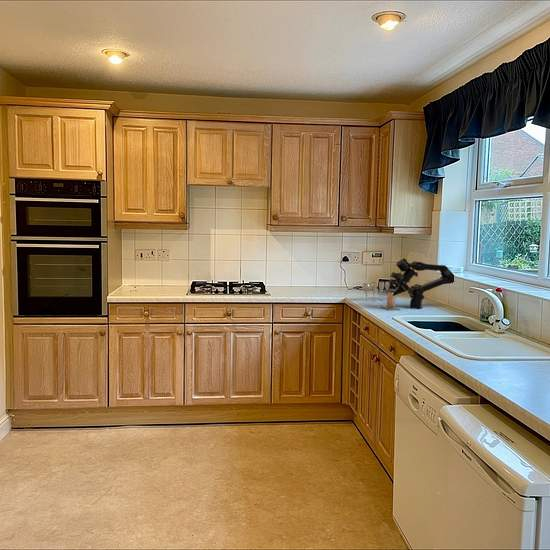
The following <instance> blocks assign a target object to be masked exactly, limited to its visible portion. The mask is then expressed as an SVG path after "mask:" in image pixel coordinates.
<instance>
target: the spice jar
mask: <svg viewBox="0 0 550 550" xmlns="http://www.w3.org/2000/svg"><path fill="white" fill-rule="evenodd" d="M386 292H387V293H386V294H387V295H386V300H387V301H386V306H387V308H394V307H395V301H394V300H395V296H393V293H394V292H395V289H393V288H388V289H387V290H386Z"/></svg>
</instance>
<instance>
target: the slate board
mask: <svg viewBox="0 0 550 550" xmlns="http://www.w3.org/2000/svg"><path fill="white" fill-rule="evenodd" d="M381 307H382V309H384V308H385V309H384V310H386V309H387V310H386V311H389V310H390V311H401V308H398V307H396V306H394V308H387V305H380V308H381Z"/></svg>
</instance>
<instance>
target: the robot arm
mask: <svg viewBox="0 0 550 550" xmlns="http://www.w3.org/2000/svg"><path fill="white" fill-rule="evenodd" d="M395 265H396V267H397V268H398V269H399V270H400V271H401V272H402V273H401V272H394V271H392V272H391V274H390V277H391V278H390V279H389V280H388V282H389V283H390V286H389V288H393V289H396V291H395V292H394V293H393V296H395V295H396V296H397V295H399V294H403V293H405V292H407V293H408V295H409V298H410V299H411V300H410V301H409V309H415V308H416V309H418V310H420V308H421V309H422V308H424V307H423V300H424V299H425V296H424V293H426V292H427V291H430V290H432V289H436V288H438V287H439V286H443V285H449V284H454V283H455V282H454V275H455V274H454V273H453V272H452V271H451V270H450V269H449V268H448V266H447V265H444V264H433V263H431V264H430V263H424V262H422V261H416V260H414V261H412V262H411V263H409V262H408V260H407V259H406V258H402V259H400V260H398V261H397V262H396V264H395ZM416 271H417V272H416ZM420 271H438V272H440V275H441V276H440V277H439V278H437V279H435V280H432V281H429V282H426V283H424V284H422V285H421V284H419V283H415V284H414V285H408V283H410V282H411V279H413V277H418V276H419V273H418V272H420ZM453 282H454V283H453ZM397 287H398V288H397ZM385 293H386V294H387V291H385Z"/></svg>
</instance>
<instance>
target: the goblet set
mask: <svg viewBox="0 0 550 550" xmlns="http://www.w3.org/2000/svg"><path fill="white" fill-rule="evenodd" d="M389 286H390V283H389V281H379V282H378V289H379V291H380V296H383V295H382V294H383V291H384V288H385V290H386V291H387V289H388V288H389ZM397 288H398V287H397ZM371 289H372V292H373V294H372V295H375V292H376V289H377V282H374V281H373V282H371V283H363V284H362V291H364V293H365V299H364V301H368V300H367V296H368V293H369V292H370V291H371ZM395 291H396V289H395ZM395 300H397V295H395ZM371 302H376V300H375V297H373V300H371Z"/></svg>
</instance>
